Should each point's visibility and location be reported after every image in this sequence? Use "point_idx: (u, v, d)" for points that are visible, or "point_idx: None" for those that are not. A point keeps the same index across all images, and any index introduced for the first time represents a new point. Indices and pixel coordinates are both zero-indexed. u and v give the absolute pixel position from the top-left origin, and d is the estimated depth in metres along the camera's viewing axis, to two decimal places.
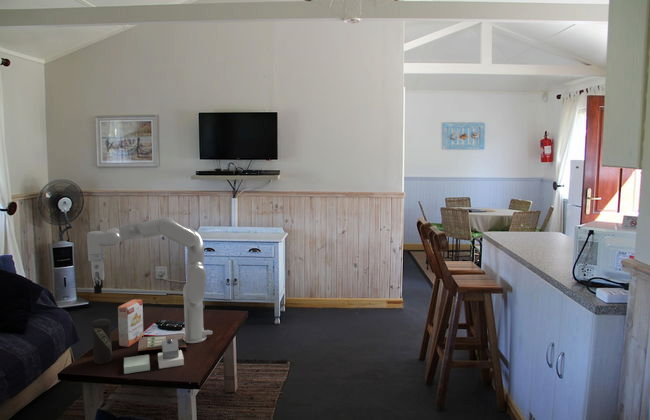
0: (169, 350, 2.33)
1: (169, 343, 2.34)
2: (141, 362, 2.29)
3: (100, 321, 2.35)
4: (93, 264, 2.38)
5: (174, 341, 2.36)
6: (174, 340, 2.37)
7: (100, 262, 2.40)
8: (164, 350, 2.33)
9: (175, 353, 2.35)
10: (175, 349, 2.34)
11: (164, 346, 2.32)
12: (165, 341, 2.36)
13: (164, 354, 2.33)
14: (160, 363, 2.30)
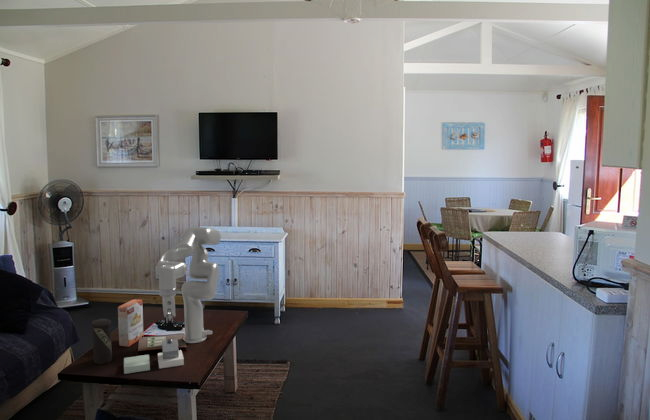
0: (169, 350, 2.33)
1: (169, 343, 2.34)
2: (141, 362, 2.29)
3: (100, 321, 2.35)
4: (165, 300, 2.28)
5: (174, 341, 2.36)
6: (174, 340, 2.37)
7: (172, 298, 2.29)
8: (164, 350, 2.33)
9: (175, 353, 2.35)
10: (175, 349, 2.34)
11: (164, 346, 2.32)
12: (165, 341, 2.36)
13: (164, 354, 2.33)
14: (160, 363, 2.30)
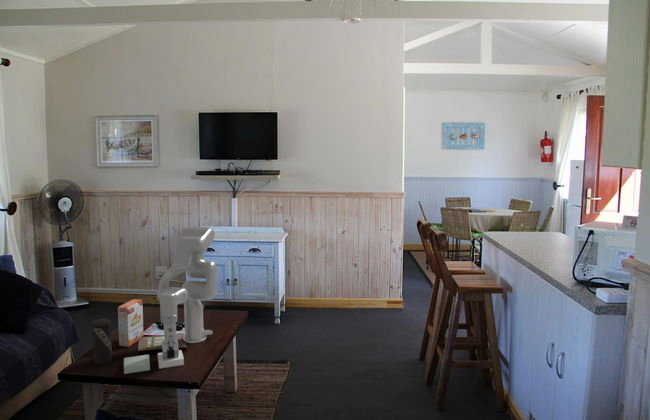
0: None
1: None
2: (141, 362, 2.29)
3: (100, 321, 2.35)
4: (167, 327, 2.30)
5: None
6: None
7: (173, 325, 2.31)
8: (164, 350, 2.33)
9: (175, 353, 2.35)
10: (175, 349, 2.34)
11: (164, 346, 2.32)
12: (165, 341, 2.36)
13: (164, 354, 2.33)
14: (160, 363, 2.30)
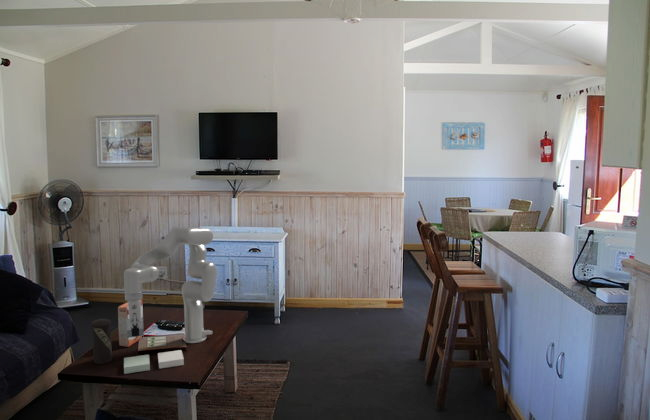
0: None
1: None
2: (141, 362, 2.29)
3: (100, 321, 2.35)
4: (130, 304, 2.23)
5: None
6: None
7: (138, 302, 2.24)
8: (128, 328, 2.25)
9: (140, 331, 2.27)
10: (139, 327, 2.27)
11: (128, 324, 2.25)
12: None
13: (128, 332, 2.26)
14: (160, 363, 2.30)
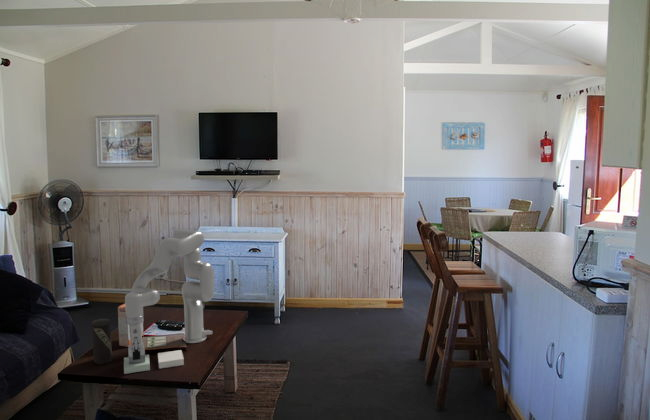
0: None
1: None
2: (141, 362, 2.29)
3: (100, 321, 2.35)
4: (132, 328, 2.24)
5: (141, 346, 2.31)
6: None
7: (139, 326, 2.26)
8: (130, 355, 2.27)
9: (141, 357, 2.29)
10: (141, 354, 2.29)
11: (130, 351, 2.27)
12: (131, 345, 2.31)
13: (130, 359, 2.28)
14: (160, 363, 2.30)
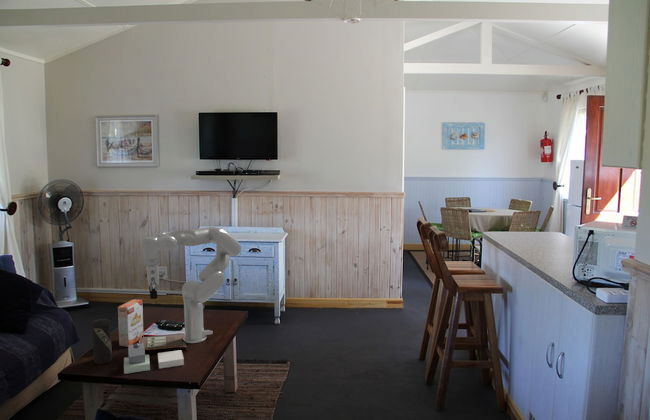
0: (135, 355, 2.28)
1: (135, 347, 2.29)
2: (141, 362, 2.29)
3: (100, 321, 2.35)
4: (149, 269, 2.41)
5: (141, 346, 2.31)
6: (141, 344, 2.32)
7: (156, 267, 2.42)
8: (130, 355, 2.27)
9: (141, 357, 2.29)
10: (141, 354, 2.29)
11: (130, 351, 2.27)
12: (131, 345, 2.31)
13: (130, 359, 2.28)
14: (160, 363, 2.30)
